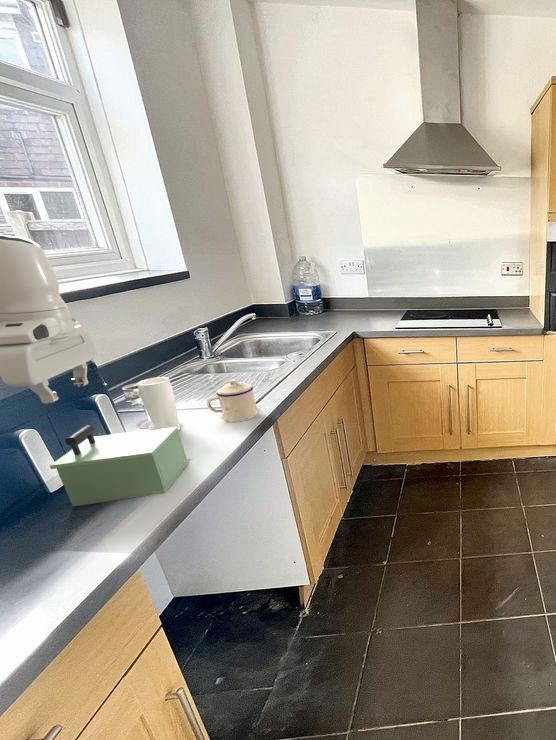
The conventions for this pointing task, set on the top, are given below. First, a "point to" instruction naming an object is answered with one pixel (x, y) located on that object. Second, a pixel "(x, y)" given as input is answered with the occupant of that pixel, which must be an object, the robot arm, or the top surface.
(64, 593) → the top surface
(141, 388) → the white vase
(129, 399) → the wineglass
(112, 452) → the box lid
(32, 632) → the top surface
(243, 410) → the teacup with lid
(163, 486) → the storage box
